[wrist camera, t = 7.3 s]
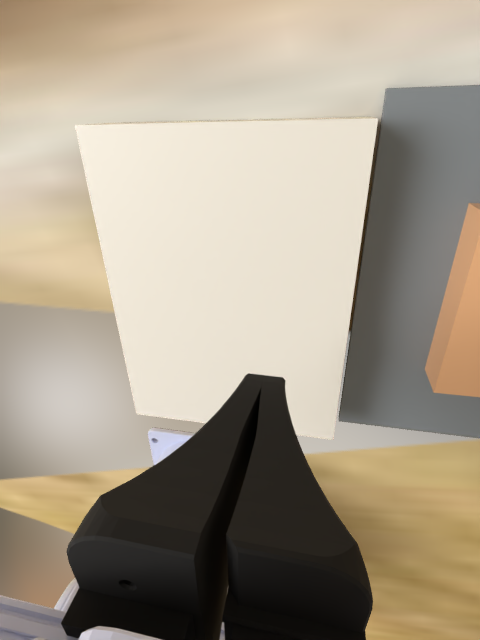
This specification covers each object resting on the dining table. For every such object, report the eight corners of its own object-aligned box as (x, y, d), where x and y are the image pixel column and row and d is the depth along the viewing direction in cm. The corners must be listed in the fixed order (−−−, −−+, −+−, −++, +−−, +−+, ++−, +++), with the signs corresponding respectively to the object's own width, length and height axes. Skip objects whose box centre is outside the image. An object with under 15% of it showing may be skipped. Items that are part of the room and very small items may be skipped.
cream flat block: (332, 403, 24) (333, 439, 21) (155, 383, 26) (136, 414, 23) (369, 117, 16) (377, 118, 13) (110, 123, 18) (74, 125, 15)
